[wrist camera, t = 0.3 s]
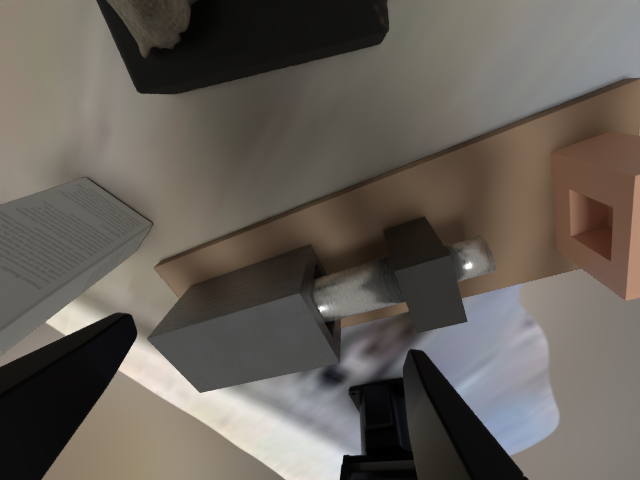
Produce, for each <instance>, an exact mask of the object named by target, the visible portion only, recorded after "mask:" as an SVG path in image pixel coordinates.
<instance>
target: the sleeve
mask: <svg viewBox="0 0 640 480" xmlns="http://www.w3.org/2000/svg"><path fill="white" fill-rule="evenodd" d="M323 276H327V274H326V272H325V270H324V268H323V266H322V264H321V262H320V260H319V258H318V256H317V254H316V252H315V250H314V248H313V246H312V244H309V245H306V246H303V247H300V248H297V249H294V250H291V251H289V252H286V253H283V254H280V255H277V256H274V257H271V258H269V259H266V260H263V261H260V262H257V263H254V264H251V265H248V266H246V267H243V268H240V269H237V270H234V271H231V272H228V273H225V274H223V275H220V276H217V277H214V278H211V279H208V280H205V281H202V282H200V283H197V284H194V285H191V286H190V287H189V288H188V289H187V291H186V292H185V293H184V294H183V295H182V297H181V298H180V299H179V300H178V301H177V303H176V304H175V305H174V306H173V308H172V309H171V310H170V311H169V312H168V314H167V315H166V316H165V317H164V319H163V320H162V321H161V322H160V323H159V325H158V326H157V327H156V328H155V329H154V331H153V332H152V333H151V334H150V336H149V337H148V338H147V339H148V340H149V342H150V343H151V344H152V345H153V346H154V347H155V348H156V349H157V350H158V351H159V352H160V353H161V354H162V355H163V356H164V357H165V358H166V359H167V360H168V361H169V362H170V363H171V364H172V365H173V366H174V367H175V368H176V369H177V370H178V371H179V372H180V373H181V374H182V375H183V376H184V377H185V378H186V379H187V380H188V381H189V382H190V383H191V384H192V385H193V386H194V387H195V388H196V389H197V390H198V391H199V392H200V393H202V392H206V391H211V390H216V389H221V388H225V387H230V386H235V385H239V384H244V383H249V382H253V381H258V380H263V379H267V378H272V377H277V376H281V375H286V374H291V373H296V372H300V371H305V370H310V369H314V368H319V367H324V366H328V365H333V364H338V363H340V342H341V319H337V320H334V321H330V322H326V323H324V321H323V319H322V318H321V316H320V314H319V312H318V310H317V309H316V307H315V305H314V303H313V302H312V300H311V298H310V294H311V288H312V283H313V280H314V279H317V278H320V277H323Z"/></svg>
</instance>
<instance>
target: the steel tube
mask: <svg viewBox="0 0 640 480" xmlns="http://www.w3.org/2000/svg"><path fill="white" fill-rule="evenodd" d="M383 232H384V236H385V240H386V243H387V247H388V251H389V254H390V256H388V257H385V258H382V259H379V260H375V261H372V262H369V263H366V264H362V265H359V266H356V267H353V268H349V269H346V270H343V271H340V272H336V273H333V274H330V275H327V276H323V277H320V278H317V279H314V280H313V283H312V288H311V294H310V298H311V300H312V302H313V303H314V305H315V307H316V309H317V310H318V312H319V314H320V316H321V318H322V319H323V321H324V323H326V322H330V321H334V320H337V319H341V318H345V317H349V316H353V315H357V314H361V313H364V312H368V311H372V310H376V309H380V308H384V307H388V306H391V305H395V304H399V303H403V302H406V304H407V307H408V310H409V312H410V315H411V318H412V320H413V323H414V326H415V328H416V331H417V333H420V332H424V331H429V330H433V329H437V328H442V327H446V326H451V325H455V324H459V323H464V322H467V318H466V314H465V310H464V306H463V302H462V299H461V295H460V291H459V287H458V283H457V282H458V281H461V280H465V279H469V278H473V277H476V276H480V275H484V274H488V273H491V272H495V270H496V265H495V260H494V257H493V254H492V252H491V249H490V247H489V246H488V244H487V242H486V241H485V239H484V238H483V237H482V236H480V235H478V236H475V237H471V238H468V239H465V240H461V241H458V242H455V243H452V244H448V245H445V246H444V245H443V243H442V242H441V240H440V239H439V237H438V236H437V234H436V233H435V231H434V229H433V228H432V226H431V225H430V223H429V222H428V220H427V219H426V217H425V216H424V217H421V218H418V219H415V220H412V221H409V222H406V223H403V224H400V225H397V226H394V227H391V228H389V229H386V230H383Z"/></svg>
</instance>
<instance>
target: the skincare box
mask: <svg viewBox="0 0 640 480" xmlns="http://www.w3.org/2000/svg"><path fill="white" fill-rule="evenodd" d="M151 226H152V223H151V222H150V221H148V220H147V219H145V218H144V217H142V216H141V215H139V214H138V213H136V212H135V211H133V210H132V209H131V208H129V207H128V206H126V205H125V204H123V203H122V202H120V201H119V200H117V199H116V198H115V197H113V196H112V195H110V194H109V193H107V192H106V191H104V190H103V189H101V188H100V187H99V186H97V185H96V184H94V183H93V182H91V181H90V180H89V179H87V178H81V179H78V180H75V181H72V182H69V183H66V184H63V185H60V186H57V187H53V188H50V189H47V190H44V191H41V192H38V193H35V194H32V195H29V196H26V197H23V198H20V199H17V200H13V201H10V202H8V203H4V204H1V205H0V356H2V355H3V354H4V353H5V352H6V351H8V350H9V349H11V348H12V347H13V346H14V345H16V344H17V343H18V342H20V341H21V340H22V339H23V338H25V337H26V336H27V335H29V334H30V333H31V332H33V331H34V330H35V329H37V328H38V327H39V326H40V325H42V324H43V323H44V322H46V321H47V320H48V319H50V318H51V317H52V316H53V315H55V314H56V313H57V312H59V311H60V310H61V309H62V308H64V307H65V306H66V305H68V304H69V303H70V302H71V301H73V300H74V299H75V298H77V297H78V296H79V295H81V294H82V293H83V292H85V291H86V290H87V289H88V288H90V287H91V286H92V285H94V284H95V283H96V282H98V281H99V280H100V279H101V278H103V277H104V276H105V275H107V274H108V273H109V272H111V271H112V270H113V269H114V268H116V267H117V266H118V265H120V264H121V263H122V262H124V261H125V260H126V259H128V258H129V257H130V256H131V255H133V254H134V253H135V252H136V250H137V249H138V247H139V245H140V244H141V242H142V240H143V239H144V237H145V236H146V234H147V233H148V231H149V230H150V228H151Z"/></svg>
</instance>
